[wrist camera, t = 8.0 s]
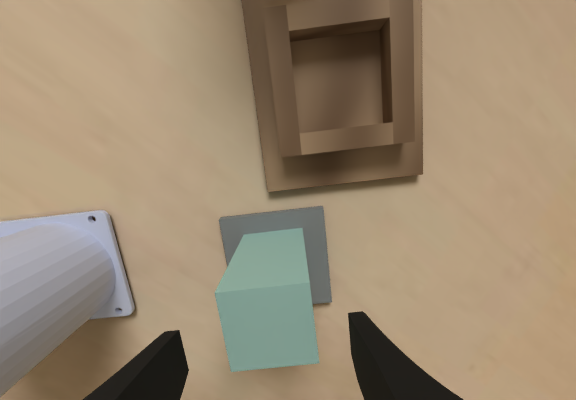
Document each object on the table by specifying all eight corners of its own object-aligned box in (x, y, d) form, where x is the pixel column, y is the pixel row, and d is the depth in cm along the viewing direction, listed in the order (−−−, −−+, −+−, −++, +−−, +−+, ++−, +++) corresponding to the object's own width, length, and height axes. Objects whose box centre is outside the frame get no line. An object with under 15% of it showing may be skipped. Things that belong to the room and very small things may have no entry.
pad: (237, 306, 20) (235, 311, 19) (221, 217, 18) (218, 219, 18) (330, 297, 20) (331, 302, 19) (322, 206, 18) (323, 208, 17)
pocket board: (268, 190, 18) (265, 197, 16) (240, -14, 15) (232, -39, 13) (418, 173, 17) (436, 177, 15) (416, -39, 15) (437, -69, 13)
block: (252, 287, 19) (230, 371, 12) (243, 234, 18) (214, 292, 11) (308, 281, 19) (319, 363, 12) (302, 227, 18) (309, 282, 11)
